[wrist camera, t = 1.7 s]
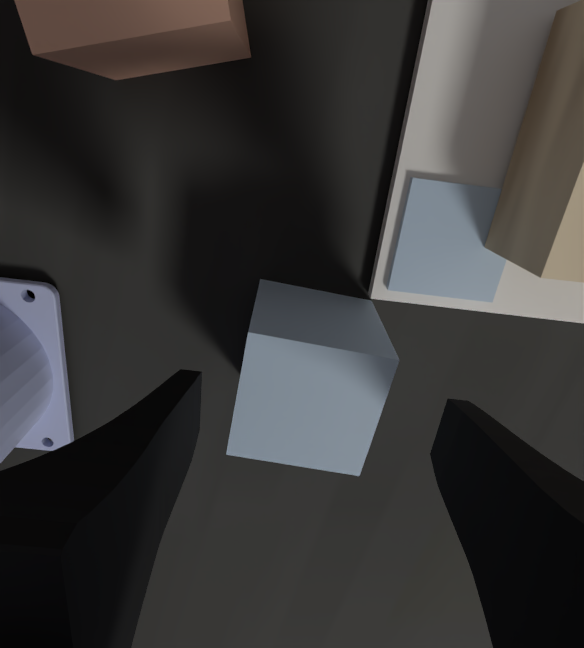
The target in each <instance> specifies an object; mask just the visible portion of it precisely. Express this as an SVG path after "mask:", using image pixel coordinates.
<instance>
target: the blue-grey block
mask: <svg viewBox="0 0 584 648" xmlns="http://www.w3.org/2000/svg"><path fill="white" fill-rule="evenodd" d="M398 363H399V358H398V356H397V354H396V352H395V349H394V347H393V345H392V343H391V341H390V339H389V337H388V335H387V333H386V330H385V328H384V326H383V324H382V322H381V320H380V318H379V316H378V313H377V311H376V309H375V307H374V305H373V303H372V301H371V300H366V299H361V298H355V297H350V296H345V295H340V294H335V293H330V292H325V291H320V290H314V289H309V288H304V287H299V286H294V285H289V284H284V283H278V282H273V281H268V280H263V279H260V282H259V287H258V291H257V295H256V300H255V304H254V309H253V313H252V317H251V322H250V326H249V330H248V335H247V341H246V347H245V352H244V358H243V363H242V369H241V375H240V380H239V386H238V391H237V397H236V403H235V408H234V414H233V419H232V425H231V431H230V436H229V442H228V447H227V453H226V455H232V456H238V457H244V458H251V459H257V460H263V461H269V462H275V463H282V464H288V465H294V466H300V467H306V468H313V469H319V470H325V471H331V472H337V473H344V474H350V475H356V476H360V473H361V470H362V467H363V464H364V461H365V458H366V456H367V453H368V450H369V447H370V444H371V441H372V438H373V435H374V432H375V430H376V427H377V424H378V421H379V418H380V415H381V412H382V409H383V406H384V403H385V401H386V398H387V395H388V392H389V389H390V386H391V383H392V380H393V377H394V375H395V372H396V369H397V366H398Z"/></svg>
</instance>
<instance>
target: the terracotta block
mask: <svg viewBox="0 0 584 648" xmlns="http://www.w3.org/2000/svg"><path fill="white" fill-rule="evenodd" d="M14 1H15V4H16V7H17V10H18V13H19V16H20V19H21V22H22V25H23V28H24V31H25V34H26V37H27V40H28V43H29V46H30V49H31V52H32V55H35V56H38V57H41V58H44V59H48V60H51V61H54V62H58V63H61V64H64V65H67V66H71V67H74V68H77V69H81V70H84V71H87V72H90V73H94V74H97V75H100V76H104V77H107V78H110V79H113V80H121V79H127V78H133V77H139V76H145V75H151V74H157V73H163V72H169V71H175V70H181V69H187V68H192V67H198V66H204V65H210V64H216V63H222V62H228V61H234V60H240V59H246V58H251V52H250V46H249V39H248V33H247V26H246V20H245V14H244V7H243V1H242V0H14Z"/></svg>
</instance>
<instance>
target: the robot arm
mask: <svg viewBox="0 0 584 648" xmlns="http://www.w3.org/2000/svg"><path fill="white" fill-rule="evenodd" d="M27 290H30V291H32V292H33V293H34V295H35V299H33V298H31V297H30V296H29V295H28V293H27ZM201 381H202V372H200V371H191V370H179V371H178V372H177V373H175V374H174V375H173V376H171V377H170V378H169V379H168V380H166V381H165V382H164V383H163V384H161V385H160V386H159V387H158V388H156V389H155V390H154V391H153V392H151V393H150V394H149V395H147V396H146V397H145V398H143V399H142V400H141V401H139V402H138V403H137V404H135V405H134V406H133V407H131V408H130V409H128V410H127V411H125V412H124V413H122V414H121V415H119V416H118V417H116V418H115V419H113V420H112V421H110V422H108V423H107V424H105V425H103V426H101V427H100V428H98V429H96V430H94V431H92V432H91V433H89V434H87V435H85V436H83V437H81V438H79V439H77V440H75V441H74V435H73V425H72V416H71V406H70V396H69V386H68V377H67V367H66V357H65V347H64V337H63V328H62V318H61V308H60V298H59V294H58V291H57V290H56V288H55V287H54V286H52V285H51V284H49V283H45V282H37V281H29V280H20V279H11V278H2V277H0V463H1V462H2V461H3V460H4V459H5V457H6V456H7V455H8V454H9V453H10V452H11V451H12V450H13V448H14V447H19V448H29V449H39V450H49V451H51V452H49V453H47V454H44V455H42V456H40V457H37V458H35V459H32V460H29V461H27V462H24V463H22V464H19V465H16V466H13V467H10V468H8V469H5V470H2V471H0V648H131V645H132V642H133V638H134V634H135V630H136V626H137V622H138V619H139V615H140V611H141V608H142V604H143V600H144V597H145V593H146V589H147V586H148V582H149V578H150V575H151V571H152V568H153V564H154V561H155V557H156V554H157V550H158V547H159V544H160V541H161V538H162V535H163V532H164V529H165V527H166V524H167V522H168V519H169V517H170V514H171V512H172V509H173V507H174V504H175V502H176V499H177V497H178V494H179V492H180V489H181V487H182V484H183V481H184V479H185V476H186V474H187V471H188V469H189V466H190V463H191V461H192V457H193V453H194V450H195V446H196V442H197V438H198V434H199V428H200V404H201ZM47 438H50V439H51V440H53V441H50V440H48V439H47ZM430 455H431V459H432V464H433V468H434V473H435V476H436V480H437V484H438V487H439V490H440V492H441V495H442V497H443V500H444V502H445V505H446V508H447V510H448V513H449V515H450V517H451V520H452V522H453V525H454V527H455V530H456V532H457V535H458V537H459V540H460V542H461V545H462V547H463V549H464V552H465V554H466V557H467V560H468V562H469V565H470V568H471V571H472V573H473V577H474V580H475V583H476V587H477V590H478V594H479V597H480V601H481V604H482V607H483V611H484V615H485V618H486V622H487V626H488V630H489V634H490V637H491V641H492V645H493V648H584V481H582V480H580V479H579V478H577V477H575V476H574V475H572V474H571V473H569V472H567V471H566V470H564V469H563V468H561V467H560V466H558V465H557V464H555V463H554V462H552V461H551V460H550V459H548V458H547V457H545V456H544V455H542V454H541V453H539V452H538V451H537V450H535V449H534V448H532V447H531V446H530V445H528V444H527V443H526V442H524V441H523V440H521V439H520V438H519V437H517V436H516V435H515V434H513V433H512V432H511V431H509V430H508V429H507V428H505V427H504V426H503V425H501V424H500V423H499V422H498V421H496V420H495V419H494V418H492V417H491V416H490V415H488V414H487V413H485V412H484V411H483V410H481V409H480V408H478V407H477V406H475V405H474V404H472V403H471V402H469V401H464V400H455V399H448V400H447V403H446V406H445V409H444V412H443V415H442V418H441V422H440V425H439V428H438V431H437V434H436V437H435V441H434V444H433V447H432V450H431V453H430Z"/></svg>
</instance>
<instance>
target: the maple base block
mask: <svg viewBox="0 0 584 648" xmlns="http://www.w3.org/2000/svg"><path fill="white" fill-rule="evenodd" d="M484 248H486V249H488V250H490V251H492V252H494V253H495V254H497V255H499V256H501V257H503V258H505V259H507V260H508V261H510V262H512V263H514V264H516V265H518V266H519V267H521V268H523V269H525V270H527V271H529V272H531V273H532V274H534V275H536V276H538V277H540V278H546V279H555V280H564V281H574V282H583V283H584V0H581V1H578V2H576V3H573V4H571V5H569V6H566V7H564V8H562V9H559V10H557V11H556V14H555V17H554V21H553V24H552V27H551V30H550V34H549V37H548V40H547V43H546V47H545V50H544V53H543V57H542V60H541V63H540V66H539V70H538V73H537V76H536V79H535V83H534V86H533V89H532V92H531V96H530V99H529V102H528V106H527V109H526V112H525V115H524V119H523V122H522V125H521V128H520V132H519V135H518V138H517V141H516V145H515V148H514V151H513V155H512V158H511V161H510V164H509V168H508V171H507V174H506V177H505V181H504V184H503V187H502V190H501V194H500V197H499V200H498V204H497V207H496V210H495V213H494V217H493V220H492V223H491V226H490V230H489V233H488V236H487V240H486V243H485V246H484Z"/></svg>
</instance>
